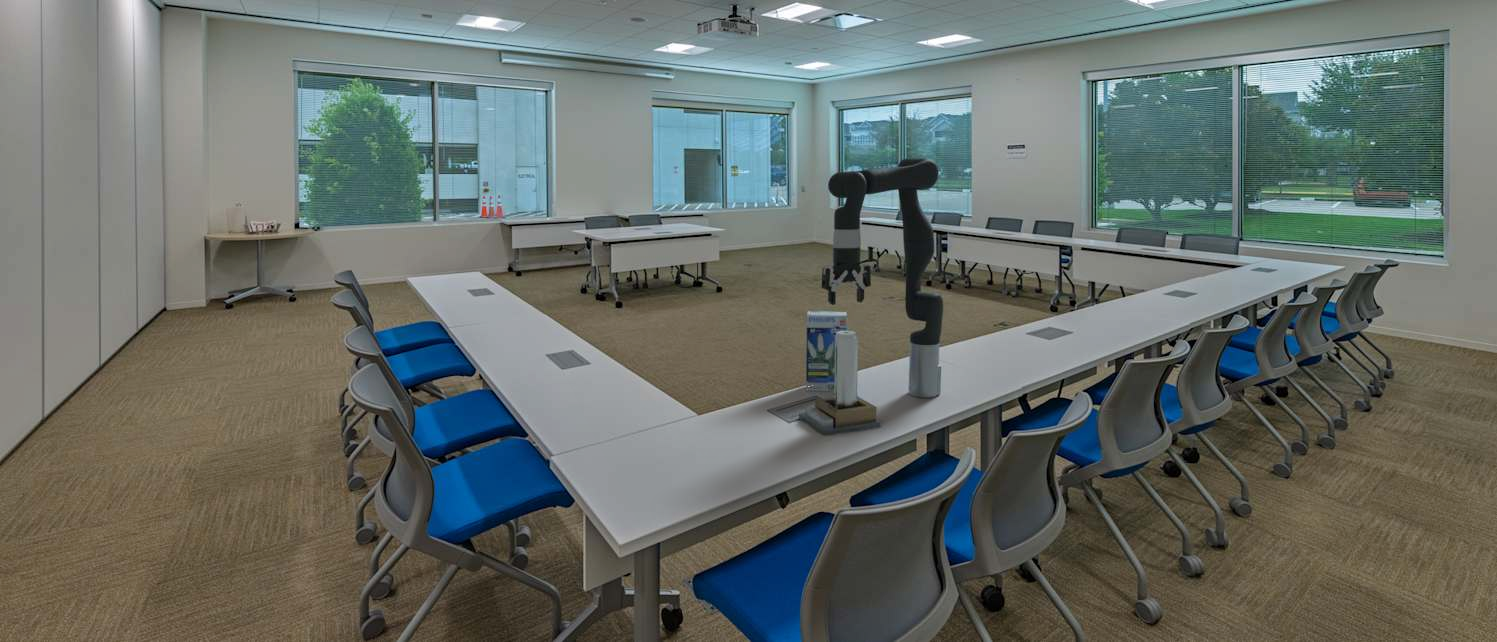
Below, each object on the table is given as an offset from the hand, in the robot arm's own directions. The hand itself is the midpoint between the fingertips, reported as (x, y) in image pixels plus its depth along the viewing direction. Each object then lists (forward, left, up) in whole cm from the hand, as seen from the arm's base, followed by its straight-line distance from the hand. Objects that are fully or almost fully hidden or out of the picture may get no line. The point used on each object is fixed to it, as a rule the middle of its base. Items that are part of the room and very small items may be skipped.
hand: (846, 303), depth 206 cm
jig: (+2, 0, -35) cm, 35 cm away
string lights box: (-10, -32, -35) cm, 49 cm away
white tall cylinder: (0, 0, -34) cm, 34 cm away
